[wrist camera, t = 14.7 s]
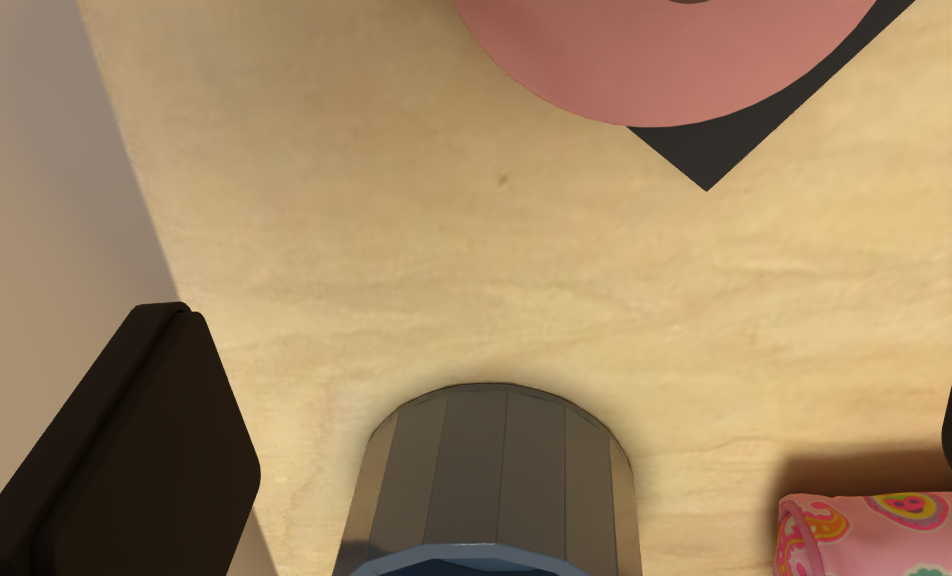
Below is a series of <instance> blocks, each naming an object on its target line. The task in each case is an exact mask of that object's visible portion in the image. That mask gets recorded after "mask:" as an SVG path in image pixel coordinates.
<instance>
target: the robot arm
mask: <svg viewBox="0 0 952 576" xmlns="http://www.w3.org/2000/svg"><path fill="white" fill-rule="evenodd" d="M941 435H942V446H943V451H944V454H945V457H946V459H947V462H948V463H949V465H950V467H951V469H952V387H951V391H950V395H949V400H948V404H947V409H946V413H945V417H944V422H943V426H942V433H941ZM260 479H261V470H260V464H259V460H258V457H257V455H256V452H255V449H254V447H253V444H252V441H251V439H250V436H249V433H248V431H247V428H246V426H245V423H244V420H243V418H242V415H241V412H240V410H239V407H238V404H237V402H236V399H235V397H234V394H233V391H232V389H231V386H230V383H229V381H228V378H227V376H226V373H225V370H224V368H223V365H222V362H221V360H220V357H219V354H218V352H217V349H216V347H215V344H214V341H213V339H212V336H211V333H210V331H209V328H208V325H207V323H206V321H205V319H204V317H203V315H202V314H201V313H199V312H192V311H191V309H190V308H189V307H188V306H187V305H186V303H183V302H168V303H154V304H141V305H137V306H136V307H135V308H134V309H132V310H131V312H130V313H129V314H128V316H127V317H126V319H125V320H124V322H123V323H122V324H121V326H120V327H119V328H118V330H117V331H116V333H115V334H114V335H113V337H112V338H111V340H110V341H109V343H108V344H107V345H106V347H105V348H104V349H103V351H102V352H101V354H100V355H99V356H98V358H97V359H96V361H95V362H94V363H93V365H92V366H91V367H90V369H89V370H88V372H87V373H86V374H85V376H84V377H83V379H82V380H81V381H80V383H79V384H78V386H77V387H76V389H75V390H74V391H73V393H72V394H71V395H70V397H69V398H68V400H67V401H66V402H65V404H64V405H63V407H62V408H61V409H60V411H59V412H58V414H57V415H56V416H55V418H54V419H53V421H52V422H51V423H50V425H49V426H48V428H47V429H46V431H45V432H44V433H43V435H42V436H41V437H40V439H39V440H38V441H37V443H36V444H35V446H34V447H33V448H32V450H31V451H30V453H29V454H28V456H27V457H26V458H25V460H24V461H23V463H22V464H21V465H20V467H19V468H18V470H17V471H16V472H15V474H14V475H13V476H12V478H11V479H10V481H9V482H8V483H7V485H6V486H5V488H4V489H3V490H2V492H1V493H0V576H226V574H227V572H228V569H229V566H230V564H231V561H232V558H233V555H234V553H235V550H236V548H237V545H238V543H239V540H240V537H241V535H242V532H243V529H244V527H245V524H246V521H247V519H248V516H249V513H250V510H251V508H252V506H253V503H254V500H255V498H256V495H257V493H258V490H259V486H260Z"/></svg>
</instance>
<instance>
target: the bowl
mask: <svg viewBox="0 0 952 576" xmlns="http://www.w3.org/2000/svg"><path fill="white" fill-rule="evenodd" d="M332 576H643V575H642V564H641V554H640V543H639V533H638V522H637V512H636V501H635V491H634V481H633V473H632V470H631V469H630V466H629V463H628V460H627V458H626V456H625V454H624V452H623V450H622V448H621V446H620V445H619V443H618V442H617V441H616V439H615V438H614V437H613V435H612V434H611V433H610V432H609V431H608V430H607V429H606V428H605V427H604V426H603V425H602V424H601V423H600V422H599V421H598V420H596V419H595V418H594V417H592V416H591V415H590V414H588V413H587V412H586V411H584V410H582V409H581V408H579V407H577V406H575V405H574V404H572V403H570V402H568V401H566V400H563V399H561V398H559V397H557V396H554V395H551V394H548V393H545V392H542V391H539V390H535V389H530V388H526V387H521V386H515V385H506V384H469V385H460V386H455V387H450V388H445V389H441V390H438V391H435V392H432V393H428V394H425V395H423V396H421V397H419V398H417V399H415V400H412V401H410V402H409V403H407V404H406V405H404V406H402V407H401V408H399V409H398V410H396V411H395V412H394V413H393V414H392V415H390V416H389V417H388V418H387V419H386V420H385V421H384V422H383V423H382V424H381V425H380V427H379V428H378V429H377V430H376V432H375V433H374V435H373V437H372V438H371V440H370V441H369V442H368V444H367V447H366V451H365V454H364V458H363V462H362V465H361V469H360V473H359V476H358V480H357V484H356V487H355V491H354V495H353V498H352V502H351V506H350V510H349V513H348V517H347V521H346V524H345V528H344V532H343V535H342V539H341V543H340V547H339V550H338V554H337V558H336V561H335V565H334V569H333V572H332Z"/></svg>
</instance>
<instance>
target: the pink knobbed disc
mask: <svg viewBox="0 0 952 576" xmlns="http://www.w3.org/2000/svg"><path fill="white" fill-rule="evenodd" d="M453 2H454V4H455V6H456V8H457V10H458V13H459V15H460V16H461V18H462V20H463V21H464V23H465V24H466V26H467V27H468V29H469V30H470V32H471V33H472V35H473V36H474V38H475V40H476V41H477V42H478V43H479V44H480V46H481V47H482V48H483V49H484V50H485V52H486V53H487V54H488V55H489V56H490V57H491V59H492V60H493V61H494V62H495V63H496V64H497V65H498V66H499V67H500V68H502V69H503V70H504V71H505V72H506V73H507V74H508V75H509V76H510V77H511V78H513V79H514V80H515V81H516V82H517V83H519V84H520V85H522V86H523V87H525V88H526V89H528V90H529V91H530V92H532V93H533V94H535V95H536V96H538V97H539V98H541V99H543V100H545V101H547V102H549V103H551V104H553V105H555V106H557V107H559V108H561V109H563V110H565V111H568V112H571V113H574V114H576V115H579V116H582V117H585V118H587V119H592V120H596V121H600V122H605V123H609V124H614V125H623V126H633V127H671V126H678V125H685V124H692V123H699V122H703V121H706V120H710V119H714V118H718V117H721V116H725V115H728V114H731V113H733V112H736V111H738V110H741V109H744V108H746V107H749V106H751V105H754V104H756V103H758V102H760V101H762V100H763V99H765V98H767V97H769V96H771V95H773V94H775V93H777V92H779V91H781V90H782V89H784V88H785V87H787V86H788V85H790V84H791V83H793V82H794V81H796V80H797V79H799V78H800V77H802V76H803V75H805V74H806V73H808V72H809V71H810V70H811V69H812V68H813V67H815V66H816V65H817V64H818V63H819V62H821V61H822V60H823V59H824V58H825V57H827V56H828V55H829V54H830V53H831V52H832V51H833V50H834V49H835V48H836V47H837V46H838V45H839V44H840V43H841V42H842V41H843V40H844V39H845V38H846V37H847V36H848V35H849V34H850V33H851V32H852V31H853V30H854V29H855V27H856V26H857V25H858V24H859V22H860V21H861V20H862V18H863V17H864V16H865V15H866V13H867V12H868V11H869V9H870V8H871V7H872V5H873V4H874V3H875V2H876V0H453Z"/></svg>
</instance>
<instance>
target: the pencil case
mask: <svg viewBox="0 0 952 576" xmlns="http://www.w3.org/2000/svg"><path fill="white" fill-rule="evenodd" d="M773 576H952V492H907V493H892V494H882V495H874V496H853V497H846V496H836V497H834V498H830V497H826V496H822V495H811V494H804V493H803V494H789V495H787V496H785V497H783V498H782V499H781V500H780V502H779V521H778V539H777V545H776V550H775V556H774V564H773Z"/></svg>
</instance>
